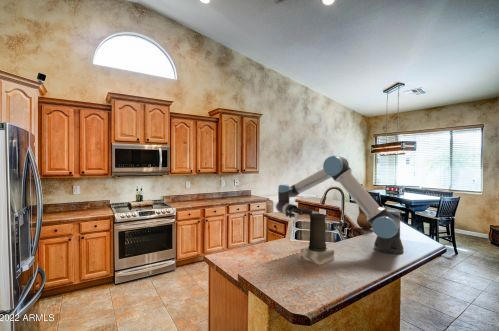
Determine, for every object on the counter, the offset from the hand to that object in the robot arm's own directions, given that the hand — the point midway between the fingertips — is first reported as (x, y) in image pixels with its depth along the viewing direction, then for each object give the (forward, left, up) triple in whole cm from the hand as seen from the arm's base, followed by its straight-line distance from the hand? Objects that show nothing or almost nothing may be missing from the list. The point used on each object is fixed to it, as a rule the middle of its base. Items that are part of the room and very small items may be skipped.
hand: (308, 215), depth 143 cm
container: (-10, +5, -16) cm, 19 cm away
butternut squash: (+7, -80, -21) cm, 83 cm away
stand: (-10, +5, -21) cm, 23 cm away
